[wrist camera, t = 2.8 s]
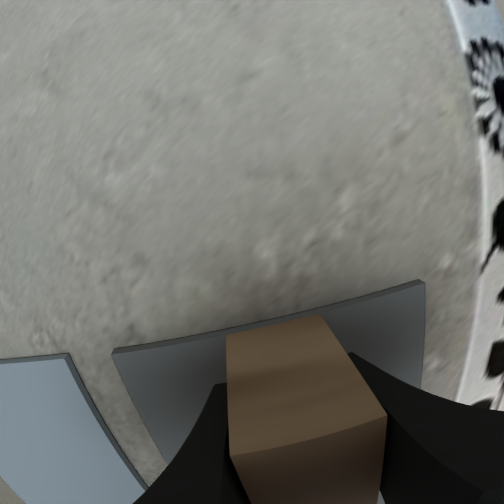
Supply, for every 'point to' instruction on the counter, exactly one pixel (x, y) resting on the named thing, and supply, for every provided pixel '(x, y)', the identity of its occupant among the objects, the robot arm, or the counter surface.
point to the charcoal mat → (205, 359)
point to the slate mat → (58, 438)
